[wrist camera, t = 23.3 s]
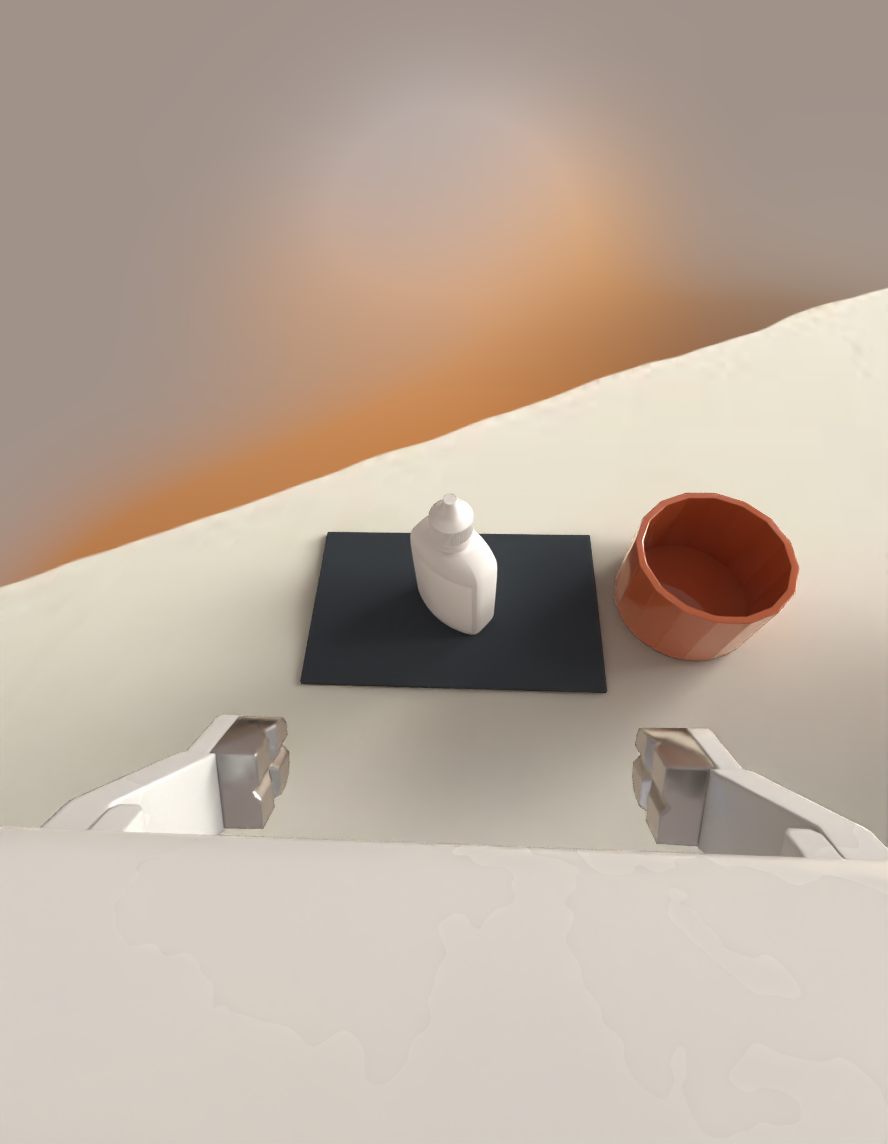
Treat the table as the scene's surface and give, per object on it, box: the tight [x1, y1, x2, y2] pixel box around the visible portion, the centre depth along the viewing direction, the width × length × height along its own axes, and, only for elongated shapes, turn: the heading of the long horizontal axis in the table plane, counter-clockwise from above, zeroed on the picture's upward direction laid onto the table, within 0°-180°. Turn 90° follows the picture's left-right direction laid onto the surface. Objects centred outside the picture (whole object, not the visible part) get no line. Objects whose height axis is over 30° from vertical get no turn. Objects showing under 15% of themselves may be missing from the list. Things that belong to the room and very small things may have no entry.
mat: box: [300, 532, 607, 693], centre depth 38 cm, size 20×12×1 cm, turn 87°
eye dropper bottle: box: [410, 494, 497, 635], centre depth 32 cm, size 4×6×12 cm
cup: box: [614, 493, 799, 661], centre depth 35 cm, size 9×9×6 cm
